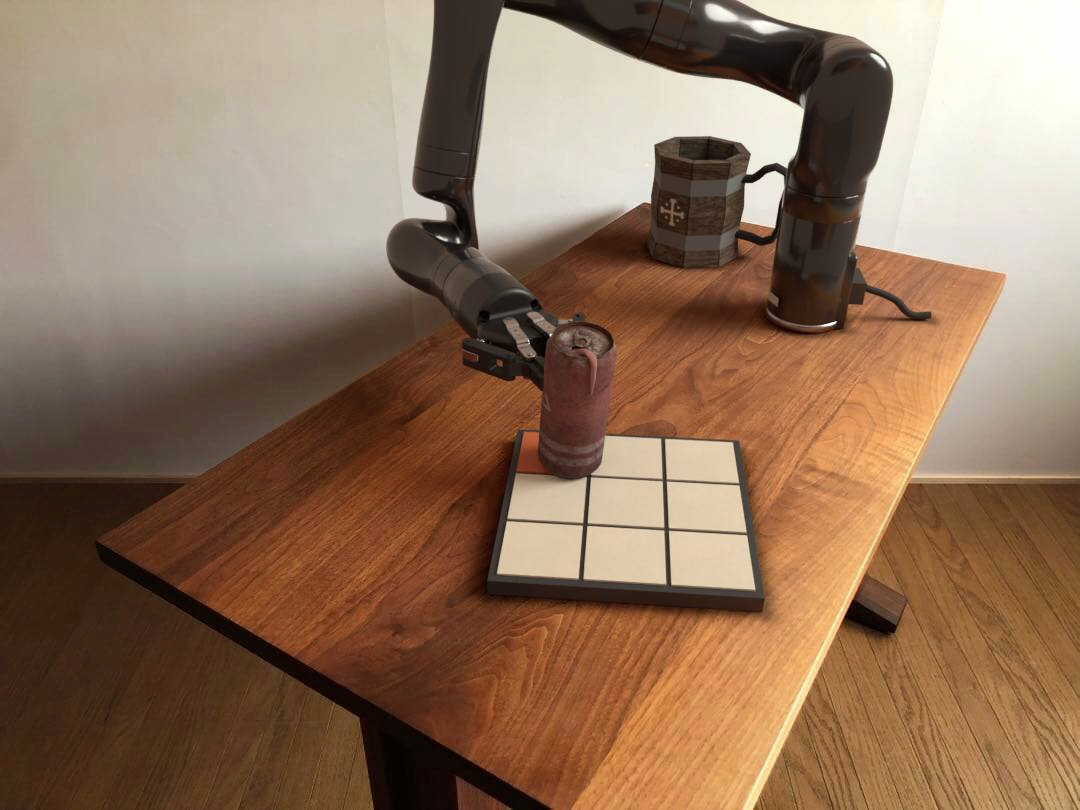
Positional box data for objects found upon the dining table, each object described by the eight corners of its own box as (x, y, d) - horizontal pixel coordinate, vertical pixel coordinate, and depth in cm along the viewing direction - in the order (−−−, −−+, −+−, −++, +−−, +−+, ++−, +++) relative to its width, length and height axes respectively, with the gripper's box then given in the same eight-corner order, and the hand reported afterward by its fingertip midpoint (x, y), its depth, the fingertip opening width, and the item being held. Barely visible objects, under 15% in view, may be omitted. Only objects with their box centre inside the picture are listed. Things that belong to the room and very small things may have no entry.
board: (737, 452, 91) (739, 438, 90) (762, 612, 72) (765, 596, 71) (518, 441, 93) (517, 427, 92) (487, 594, 74) (487, 578, 73)
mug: (636, 261, 131) (642, 158, 123) (657, 228, 142) (664, 131, 134) (775, 280, 126) (791, 173, 118) (785, 244, 136) (801, 144, 128)
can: (556, 490, 83) (569, 367, 74) (526, 447, 87) (535, 326, 78) (614, 473, 85) (633, 351, 76) (582, 432, 89) (596, 312, 81)
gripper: (424, 285, 89) (498, 363, 76) (550, 259, 94) (640, 328, 81) (429, 352, 93) (500, 437, 80) (550, 324, 98) (635, 400, 85)
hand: (570, 382), depth 81 cm, fingers closed
